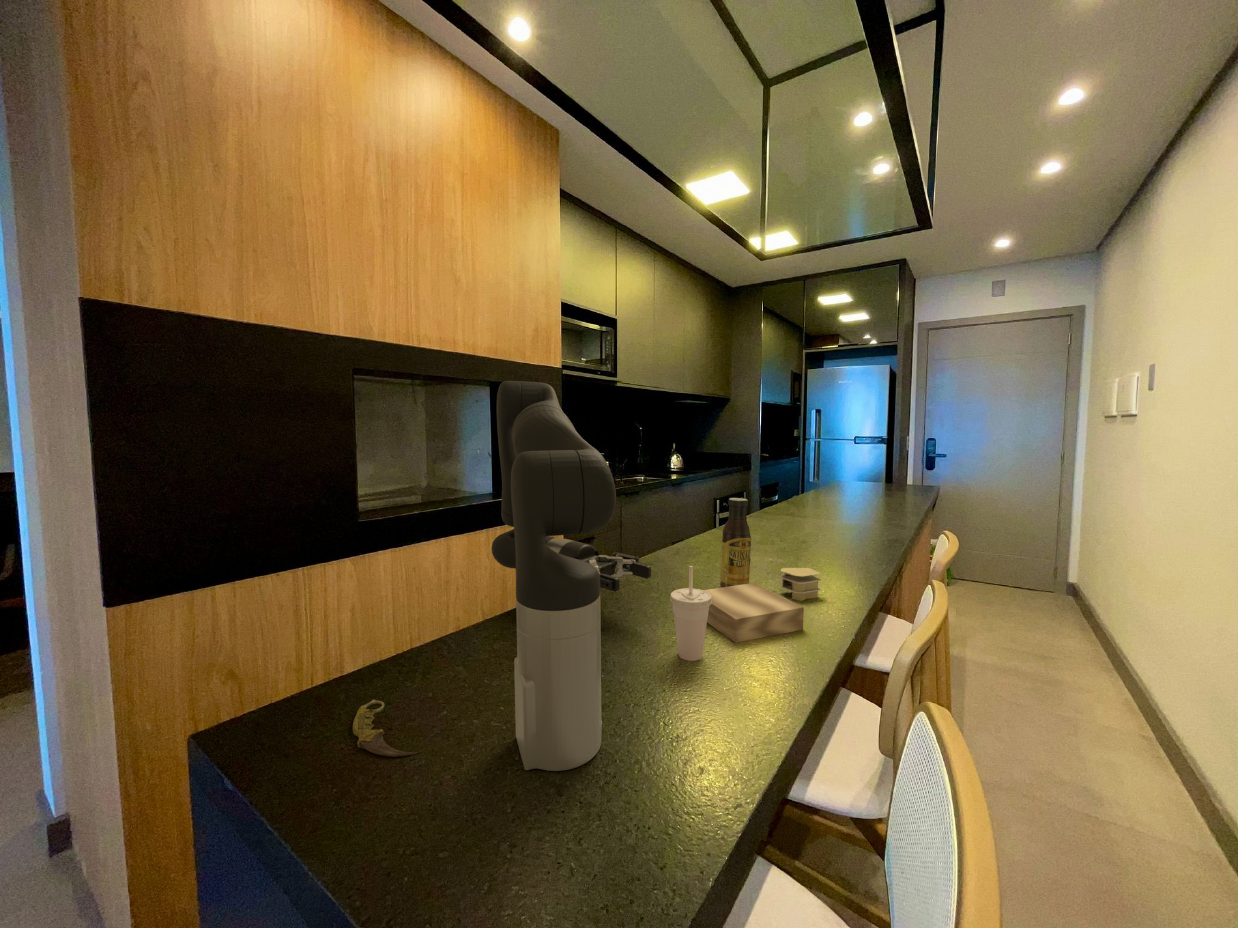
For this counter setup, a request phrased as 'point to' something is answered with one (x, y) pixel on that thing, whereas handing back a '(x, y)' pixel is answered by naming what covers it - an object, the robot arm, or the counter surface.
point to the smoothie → (690, 619)
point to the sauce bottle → (736, 546)
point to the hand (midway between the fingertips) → (634, 578)
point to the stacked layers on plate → (800, 582)
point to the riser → (752, 612)
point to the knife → (373, 733)
